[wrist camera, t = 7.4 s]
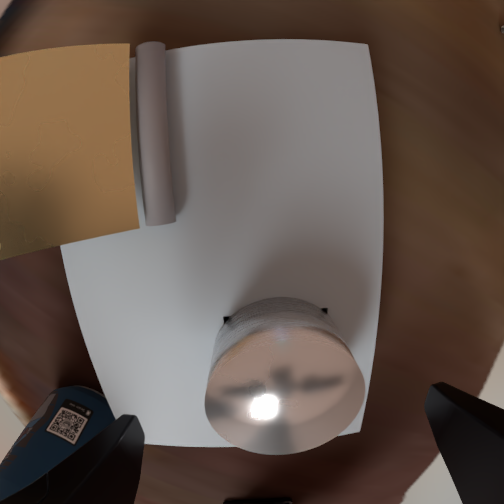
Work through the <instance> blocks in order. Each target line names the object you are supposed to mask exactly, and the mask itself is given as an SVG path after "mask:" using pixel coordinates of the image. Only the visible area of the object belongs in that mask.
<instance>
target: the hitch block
mask: <svg viewBox="0 0 504 504" xmlns="http://www.w3.org/2000/svg"><path fill="white" fill-rule="evenodd" d="M129 100H130V128H131V146H132V160H133V172H134V182H135V192H136V201H137V210H138V218H139V225H140V229H135V230H130V231H125V232H120V233H115V234H110V235H105V236H101V237H96V238H91V239H87V240H82V241H78V242H73V243H69V244H64V245H60V247H61V252H62V257H63V262H64V267H65V271H66V276H67V280H68V284H69V288H70V292H71V296H72V300H73V304H74V307H75V311H76V314H77V318H78V321H79V325H80V328H81V331H82V334H83V337H84V340H85V343H86V346H87V349H88V352H89V355H90V358H91V361H92V363H93V366H94V369H95V371H96V374H97V377H98V379H99V382H100V384H101V387H102V389H103V392H104V394H105V396H106V399H107V401H108V403H109V406H110V408H111V410H112V412H113V415H114V417H115V419H117V418H119V417H120V416H121V415H123V414H132V415H136V416H137V417H138V419H139V422H140V424H141V426H142V429H143V431H144V434H145V442H144V444H155V445H168V446H187V447H236V446H234V445H233V444H231V443H229V442H227V441H226V440H225V439H223V438H222V437H221V436H220V435H219V434H218V433H217V432H216V431H215V430H214V429H213V427H212V426H211V424H210V423H209V421H208V419H207V416H206V413H205V406H204V403H205V393H206V388H207V382H208V376H209V370H210V364H211V358H212V353H213V347H214V343H215V339H216V336H217V334H218V332H219V330H220V329H221V327H222V325H223V324H224V323H225V322H226V320H227V319H228V318H229V317H231V316H232V315H233V314H234V313H235V312H237V311H238V310H239V309H241V308H243V307H245V306H246V305H248V304H251V303H253V302H256V301H259V300H263V299H266V298H273V297H291V298H297V299H302V300H305V301H308V302H310V303H312V304H314V305H316V306H318V307H320V308H321V309H322V310H324V311H325V312H326V313H327V314H328V315H329V316H330V317H331V318H332V320H333V321H334V322H335V324H336V326H337V328H338V329H339V331H340V333H341V335H342V337H343V339H344V340H345V342H346V344H347V346H348V348H349V349H350V351H351V353H352V355H353V357H354V359H355V361H356V362H357V364H358V366H359V368H360V370H361V372H362V374H363V377H364V380H365V398H364V401H363V405H362V407H361V409H360V411H359V413H358V415H357V416H356V418H355V419H354V420H353V422H352V423H351V424H350V425H349V426H348V427H347V428H346V429H345V430H344V431H343V432H341V433H340V434H339V435H338V436H341V435H346V434H351V433H356V432H360V429H361V424H362V419H363V415H364V410H365V405H366V400H367V394H368V389H369V383H370V377H371V371H372V364H373V358H374V351H375V343H376V335H377V326H378V317H379V306H380V294H381V280H382V261H383V221H384V212H383V172H382V153H381V139H380V128H379V117H378V108H377V100H376V92H375V85H374V78H373V71H372V65H371V59H370V54H369V48H368V44H361V43H351V42H341V41H327V40H305V39H268V40H246V41H232V42H221V43H212V44H204V45H196V46H189V47H183V48H177V49H171V50H166V51H165V44H163V43H161V42H146V43H142V44H140V45H138V46H137V47H136V55H135V57H133V58H129Z"/></svg>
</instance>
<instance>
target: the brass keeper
mask: <svg viewBox="0 0 504 504" xmlns="http://www.w3.org/2000/svg"><path fill="white" fill-rule="evenodd" d="M129 55H130V44H94V45H79V46H68V47H59V48H51V49H43V50H37V51H30V52H25V53H19V54H14V55H9V56H5V57H0V260H2V259H6V258H10V257H14V256H18V255H22V254H26V253H30V252H34V251H39V250H43V249H47V248H51V247H55V246H60V245H64V244H69V243H73V242H78V241H82V240H87V239H91V238H96V237H101V236H105V235H110V234H115V233H120V232H125V231H130V230H135V229H140V225H139V218H138V210H137V201H136V192H135V182H134V172H133V160H132V146H131V128H130V100H129Z"/></svg>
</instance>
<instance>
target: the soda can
mask: <svg viewBox="0 0 504 504" xmlns="http://www.w3.org/2000/svg"><path fill="white" fill-rule="evenodd" d="M115 420H116V419H115V417H114V415H113V412H112V410H111V408H110V406H109V403H108V401H107V399H106V396H104V395H103V394H101V393H99V392H98V391H96V390H93V389H91V388H88V387H85V386H79V385H74V386H68V387H62V388H59V389H56V390H54V391H53V392H51V393H50V395H49V396H48V397H47V399H46V400H45V401H44V403H43V404H42V405H41V407H40V408H39V409H38V411H37V412H36V413H35V415H34V416H33V418H32V419H31V420H30V422H29V423H28V424H27V426H26V427H25V429H24V430H23V432H22V433H21V435H20V436H19V437H18V439H17V440H16V442H15V443H14V445H13V446H12V448H11V449H10V451H9V452H8V453H7V455H6V456H5V458H4V459H3V461H2V463H1V464H0V501H1V500H2V499H4V498H6V497H8V496H10V495H12V494H14V493H16V492H18V491H19V490H21V489H23V488H25V487H26V486H28V485H29V484H31V483H32V482H34V481H35V480H37V479H38V478H40V477H41V476H42V475H44V474H45V473H48V471H49V470H51V469H52V468H54V467H55V466H56V465H58V464H59V463H60V462H62V461H63V460H64V459H66V458H67V457H68V456H70V455H71V454H72V453H74V452H75V451H76V450H78V449H79V448H80V447H82V446H83V445H84V444H85V443H87V442H88V441H89V440H91V439H92V438H93V437H95V436H96V435H97V434H98V433H100V432H101V431H102V430H103V429H105V428H106V427H107V426H109V425H110V424H111V423H112V422H114V421H115Z"/></svg>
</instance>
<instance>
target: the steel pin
mask: <svg viewBox="0 0 504 504" xmlns="http://www.w3.org/2000/svg"><path fill="white" fill-rule="evenodd" d="M364 398H365V380H364V377H363V374H362V372H361V370H360V368H359V366H358V364H357V362H356V361H355V359H354V357H353V355H352V353H351V351H350V349H349V348H348V346H347V344H346V342H345V340H344V339H343V337H342V335H341V333H340V331H339V329H338V328H337V326H336V324H335V322H334V321H333V320H332V318H331V317H330V316H329V315H328V314H327V313H326V312H325V311H324V310H322V309H321V308H320V307H318V306H316V305H314V304H312V303H310V302H308V301H305V300H302V299H297V298H291V297H273V298H266V299H263V300H259V301H256V302H253V303H251V304H248V305H246V306H245V307H243V308H241V309H239V310H238V311H237V312H235V313H234V314H233V315H232V316H231V317H229V318H228V319H227V320H226V322H225V323H224V324H223V325H222V327H221V329H220V330H219V332H218V334H217V336H216V339H215V343H214V347H213V353H212V358H211V364H210V370H209V376H208V382H207V388H206V393H205V403H204V406H205V413H206V416H207V419H208V421H209V423H210V424H211V426H212V427H213V429H214V430H215V431H216V432H217V433H218V434H219V435H220V436H221V437H222V438H223V439H225V440H226V441H227V442H229V443H231V444H233V445H234V446H236V447H239V448H241V449H244V450H247V451H250V452H254V453H259V454H268V455H283V454H292V453H298V452H302V451H306V450H309V449H313V448H315V447H318V446H320V445H322V444H324V443H326V442H328V441H330V440H332V439H333V438H335V437H336V436H338V435H339V434H340V433H341V432H343V431H344V430H345V429H346V428H347V427H348V426H349V425H350V424H351V423H352V422H353V420H354V419H355V418H356V416H357V415H358V413H359V411H360V409H361V407H362V405H363V401H364Z"/></svg>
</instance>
